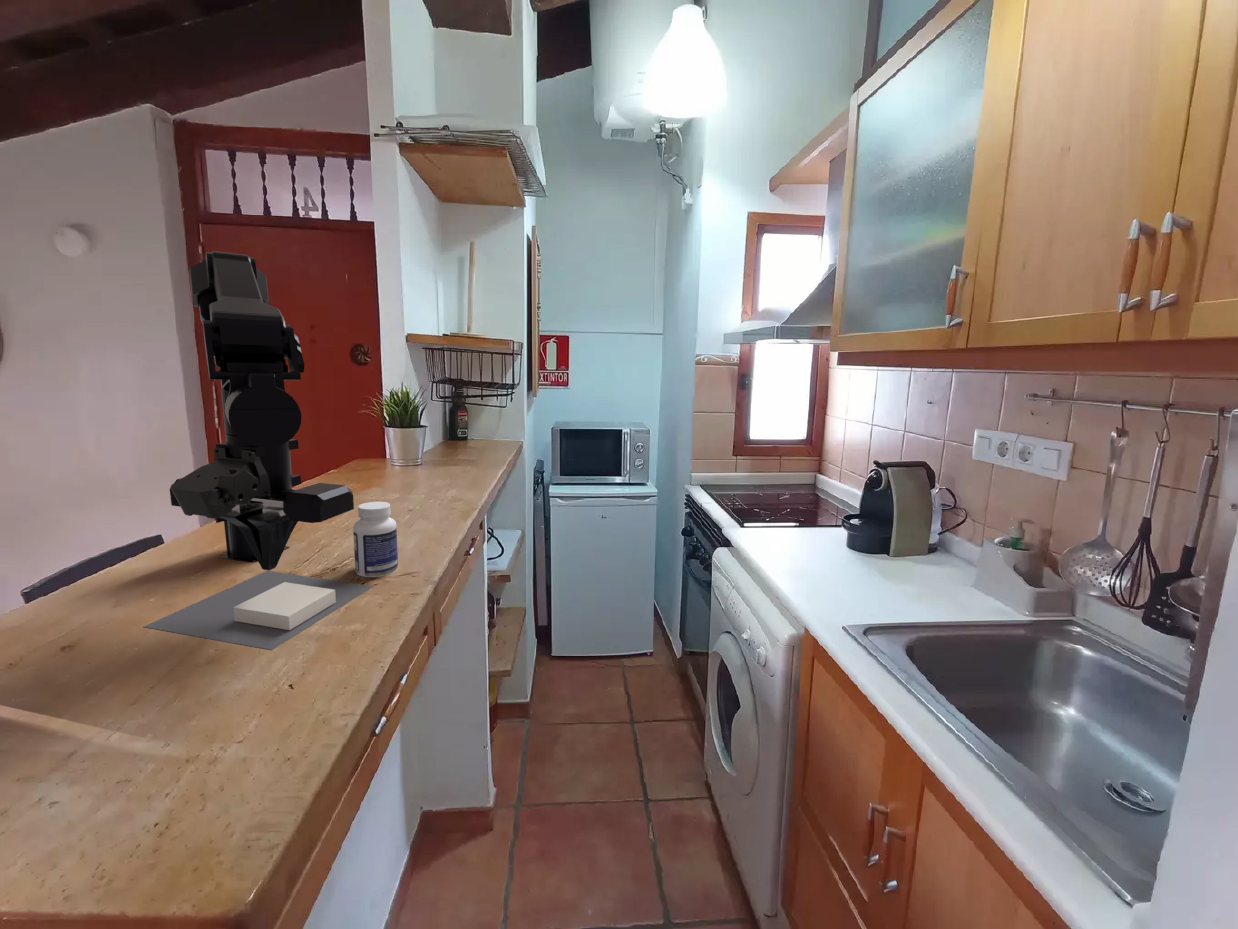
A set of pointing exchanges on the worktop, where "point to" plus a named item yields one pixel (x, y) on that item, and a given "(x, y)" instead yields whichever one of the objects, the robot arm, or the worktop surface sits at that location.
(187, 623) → the mat
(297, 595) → the tile
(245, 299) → the robot arm
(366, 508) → the pill bottle
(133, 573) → the worktop surface
